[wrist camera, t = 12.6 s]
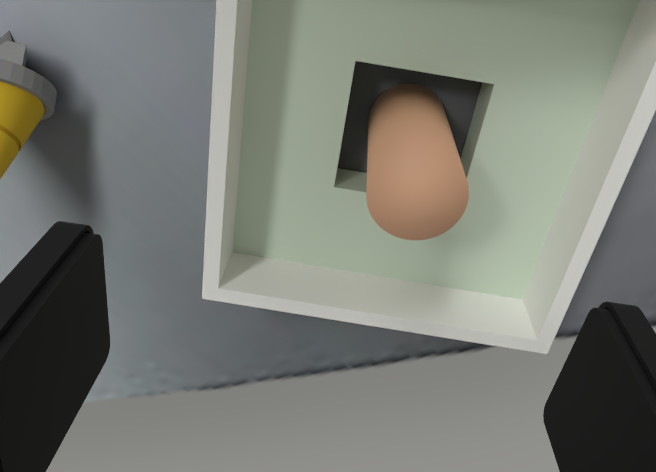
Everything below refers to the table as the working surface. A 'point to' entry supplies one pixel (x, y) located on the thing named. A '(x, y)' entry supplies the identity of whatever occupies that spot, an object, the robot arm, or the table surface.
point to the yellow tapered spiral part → (20, 100)
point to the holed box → (477, 159)
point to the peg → (413, 165)
